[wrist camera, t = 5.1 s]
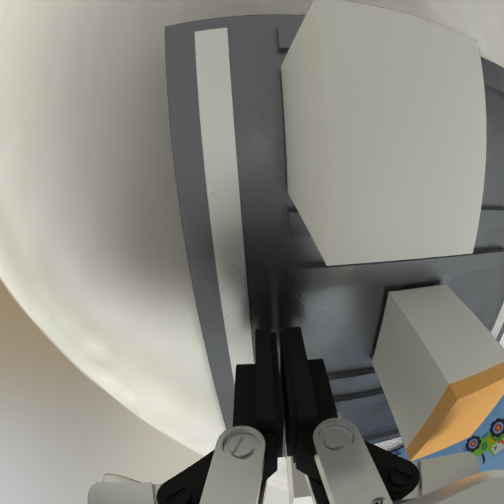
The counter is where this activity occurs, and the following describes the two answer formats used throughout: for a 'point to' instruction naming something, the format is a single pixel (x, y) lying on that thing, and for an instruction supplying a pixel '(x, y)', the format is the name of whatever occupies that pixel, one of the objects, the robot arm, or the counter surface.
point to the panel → (294, 222)
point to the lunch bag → (478, 442)
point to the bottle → (117, 479)
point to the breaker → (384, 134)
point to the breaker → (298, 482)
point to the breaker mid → (436, 368)
